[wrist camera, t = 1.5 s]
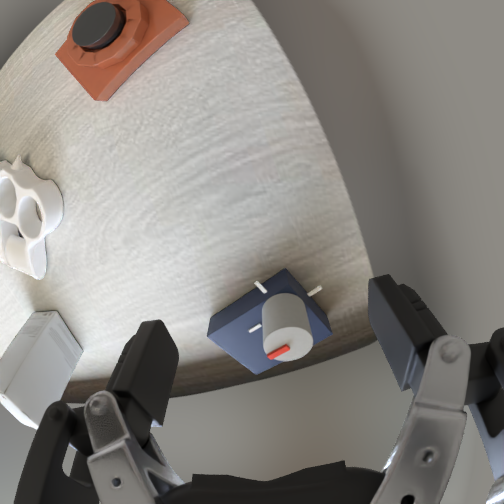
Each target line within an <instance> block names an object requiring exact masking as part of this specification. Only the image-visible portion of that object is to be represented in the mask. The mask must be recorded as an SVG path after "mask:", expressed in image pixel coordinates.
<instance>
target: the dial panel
mask: <svg viewBox="0 0 504 504" xmlns="http://www.w3.org/2000/svg"><path fill="white" fill-rule="evenodd" d="M254 284H255V285H256V286H257V288H255V289H254V290H252V291H251V292H249V293H248V294H246V295H245V296H243V297H242V298H240V299H239V300H237V301H235V302H234V303H232V304H231V305H229V306H228V307H226V308H225V309H223V310H222V311H220V312H219V313H217V314H216V315H214V316H213V317H211V318H210V322H209V328H208V333H207V337H208V338H209V339H211V340H212V341H213V342H214V343H216V344H217V345H218V346H219V347H221V348H222V349H223V350H224V351H226V352H227V353H228V354H230V355H231V356H232V357H233V358H235V359H236V360H237V361H239V362H240V363H241V364H243V365H244V366H245V367H247V368H248V369H249V370H251V371H252V372H253V373H255V374H256V375H257V374H259V373H261V372H263V371H265V370H267V369H269V368H271V367H273V366H275V365H277V364H279V363H281V362H283V361H280V360H276V359H272V360H270V359H269V358H268V357H267V354H266V352H265V351H264V348H263V326H262V308H263V305H264V303H265V302H266V301H267V300H268V299H269V298H270V297H272V296H274V295H277V294H281V293H290V294H294V295H296V296H298V297H299V298H301V299H302V301H303V302H304V304H305V308H306V312H307V316H308V320H309V324H310V328H311V332H312V337H313V345H315V344H316V343H318V342H320V341H322V340H323V339H325V338H327V337H328V336H330V335H332V330H331V327H330V324H329V321H328V318H327V316H326V314H325V313H324V312H323V311H322V310H321V309H320V307H319V306H318V305H317V304H316V303H315V302H314V300H313V299H312V298H311V297H310V296H312V295H313V294H315V293H316V292H318V291H319V290H321V289H322V287H321V286H320V285H319V286H318V287H316V288H315V289H313V290H312V291H310V292H309V293H307V292H306V291H305V290H304V289H303V288H302V286H301V285H300V284H299V283H298V282H297V281H296V279H295V278H294V277H293V276H292V275H291V274H290V272H289V271H288V270H287V269H286V268H285V269H283V270H282V271H280V272H279V273H277V274H276V275H274V276H273V277H271V278H270V279H268V280H267V281H265V282H264V283H263V284H260V283H259V282H258V280H257V281H255V282H254ZM313 345H312V346H313Z"/></svg>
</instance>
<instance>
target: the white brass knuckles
mask: <svg viewBox="0 0 504 504" xmlns="http://www.w3.org/2000/svg"><path fill="white" fill-rule="evenodd" d="M15 190H16V196H15ZM16 197H17V199H16ZM36 202H37V204H38V205H39V208H40V210H41V214H42V222H41V221H40V219H39V218H38V215H37V212H36ZM63 209H64V208H63V200H62V196H61V193H60V191H59V189H58V187H57V185H56V184H55V183H54V182H53V181H52V180H51V179H50V180H42V179H40V178H38V177H37V176H36V175H35V174H34V172H33V171H32V169H31V167H29V166H27V165H26V164H24V163H22V162H21V158H20V153H19V155H18V157H17V158H16V160H15V161H14V163H13V164H12V165H11V164H10V163H8V162H7V160H4V161H1V162H0V262H2V263H4V264H6V265H8V266H9V267H10V268H12V269H13V268H15V269H17V270H19V271H21V272H24V273H26V274H28V275H31V276H33V277H34V278H35V279H37V280H39V279H42V278H43V277H44V276H45V273H46V267H47V257H46V250H45V240H44V237H45V236H46V235H47V234H49V233H50V232H52V231H53V230H54V229H56V228H57V227H58V226H59V224H60V222H61V220H62V217H63ZM18 229H19V231H20V233H21V234H22V236H23V237H24V238H22V237H19V234H18Z"/></svg>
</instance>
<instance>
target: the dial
mask: <svg viewBox="0 0 504 504" xmlns="http://www.w3.org/2000/svg"><path fill="white" fill-rule="evenodd" d="M262 326H263V348H264V351H265V352H266V354H267V357H268V358H269V359H270V360H272V359H276V360H280V361H291V360H295V359H298V358H301V357H303V356H304V355H306V354H307V353H308V352H309V351H310V349H311V348H312V345H313V337H312V332H311V328H310V324H309V320H308V316H307V312H306V308H305V304H304V302H303V301H302V299H301V298H299V297H298V296H296V295H294V294H290V293H281V294H277V295H274V296H272V297H270V298H269V299H268V300H267V301H266V302H265V303H264V305H263V308H262Z"/></svg>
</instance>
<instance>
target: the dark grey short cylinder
mask: <svg viewBox="0 0 504 504" xmlns="http://www.w3.org/2000/svg"><path fill="white" fill-rule="evenodd" d="M124 23H125V16H124V14H123V12H122V11H121V10H120V9H118V8H117V7H115V6H114V5H112V4H111V3H109V2H99V3H96V4H94V5H92V6H90V7H88V8H87V9H86V10H85V11H83V12H82V13H81V15H80V16H79V17H78V18H77V20H76V22H75V24H74V26H73V29H72V38H73V41H74V42H75V43H76V44H77V45H79V46H82V47H85V48H88V49H92V50H97V49H101V48H104V47H106V46H108V45H109V44H111V43H112V42H113V41H114V40H115V39H116V38H117V37H118V36H119V34H120V33H121V31H122V29H123V27H124Z"/></svg>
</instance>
